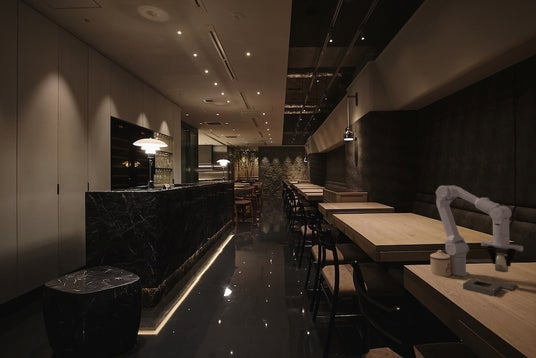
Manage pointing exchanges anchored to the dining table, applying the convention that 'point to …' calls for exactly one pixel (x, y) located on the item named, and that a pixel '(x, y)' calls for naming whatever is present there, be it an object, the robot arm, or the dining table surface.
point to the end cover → (501, 263)
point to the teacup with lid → (440, 264)
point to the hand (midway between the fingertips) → (501, 264)
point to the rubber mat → (505, 285)
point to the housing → (482, 287)
